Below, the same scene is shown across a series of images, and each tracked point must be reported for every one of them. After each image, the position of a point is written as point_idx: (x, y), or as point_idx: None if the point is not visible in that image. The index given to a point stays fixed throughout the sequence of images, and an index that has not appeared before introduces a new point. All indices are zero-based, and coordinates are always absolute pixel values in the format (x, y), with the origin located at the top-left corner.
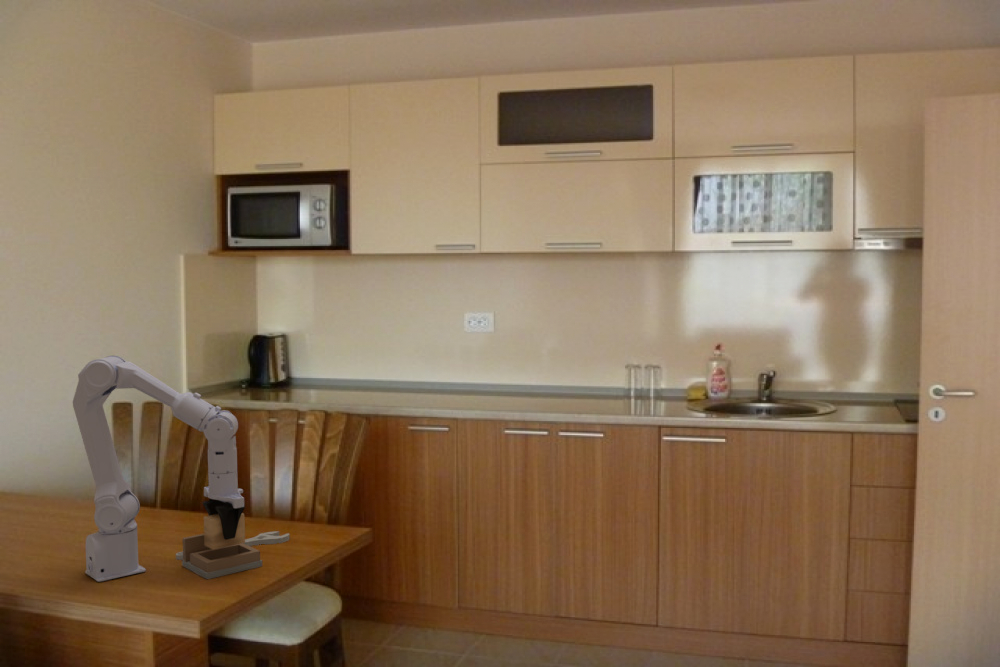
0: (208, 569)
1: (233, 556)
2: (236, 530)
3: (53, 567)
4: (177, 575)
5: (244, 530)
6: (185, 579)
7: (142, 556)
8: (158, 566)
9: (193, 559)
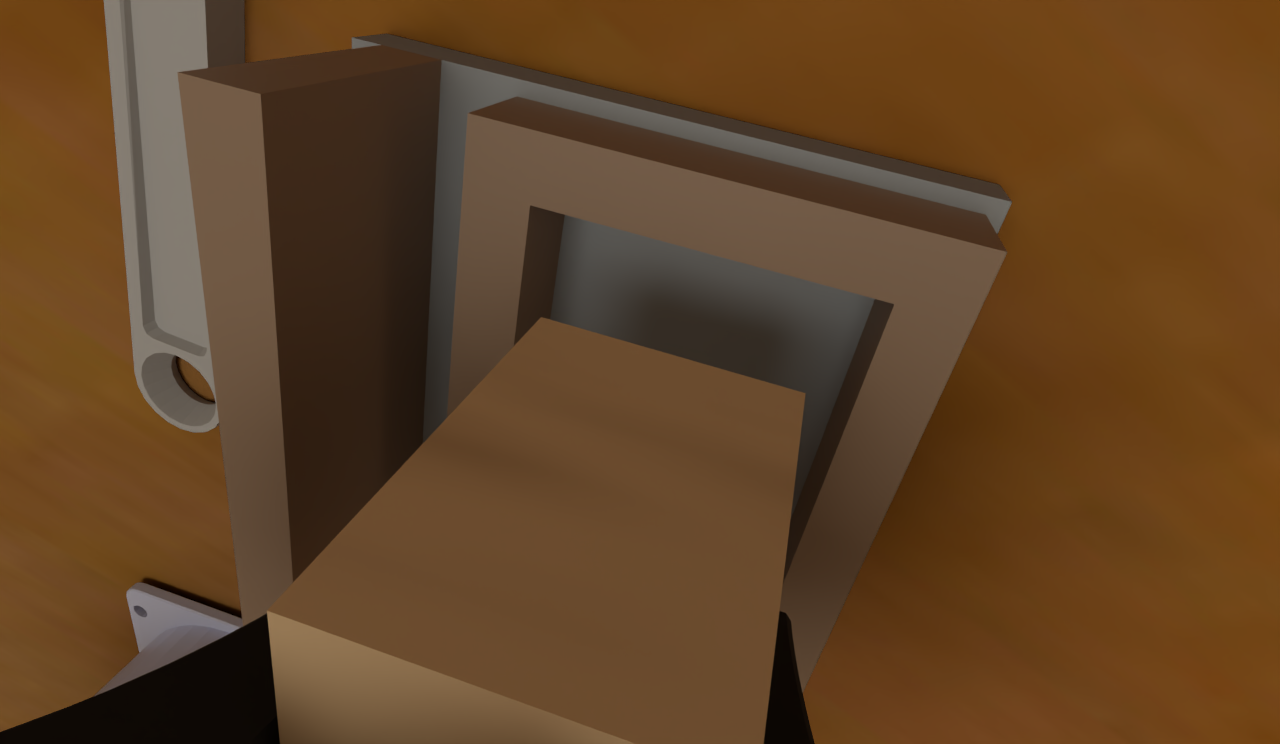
0: None
1: (854, 537)
2: (800, 692)
3: (10, 718)
4: None
5: (787, 503)
6: None
7: (35, 466)
8: None
9: None
